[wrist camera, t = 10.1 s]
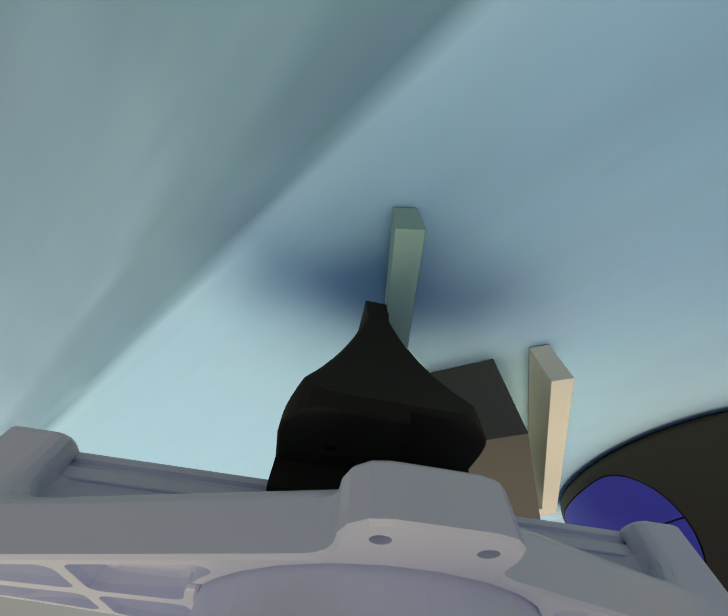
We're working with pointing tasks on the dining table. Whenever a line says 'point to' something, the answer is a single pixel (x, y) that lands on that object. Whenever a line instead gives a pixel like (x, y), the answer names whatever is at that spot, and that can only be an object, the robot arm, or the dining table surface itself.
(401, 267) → the sage green post
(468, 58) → the dining table surface
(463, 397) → the dark brown rectangular block
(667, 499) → the leaning round-cornered charcoal block
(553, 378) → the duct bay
